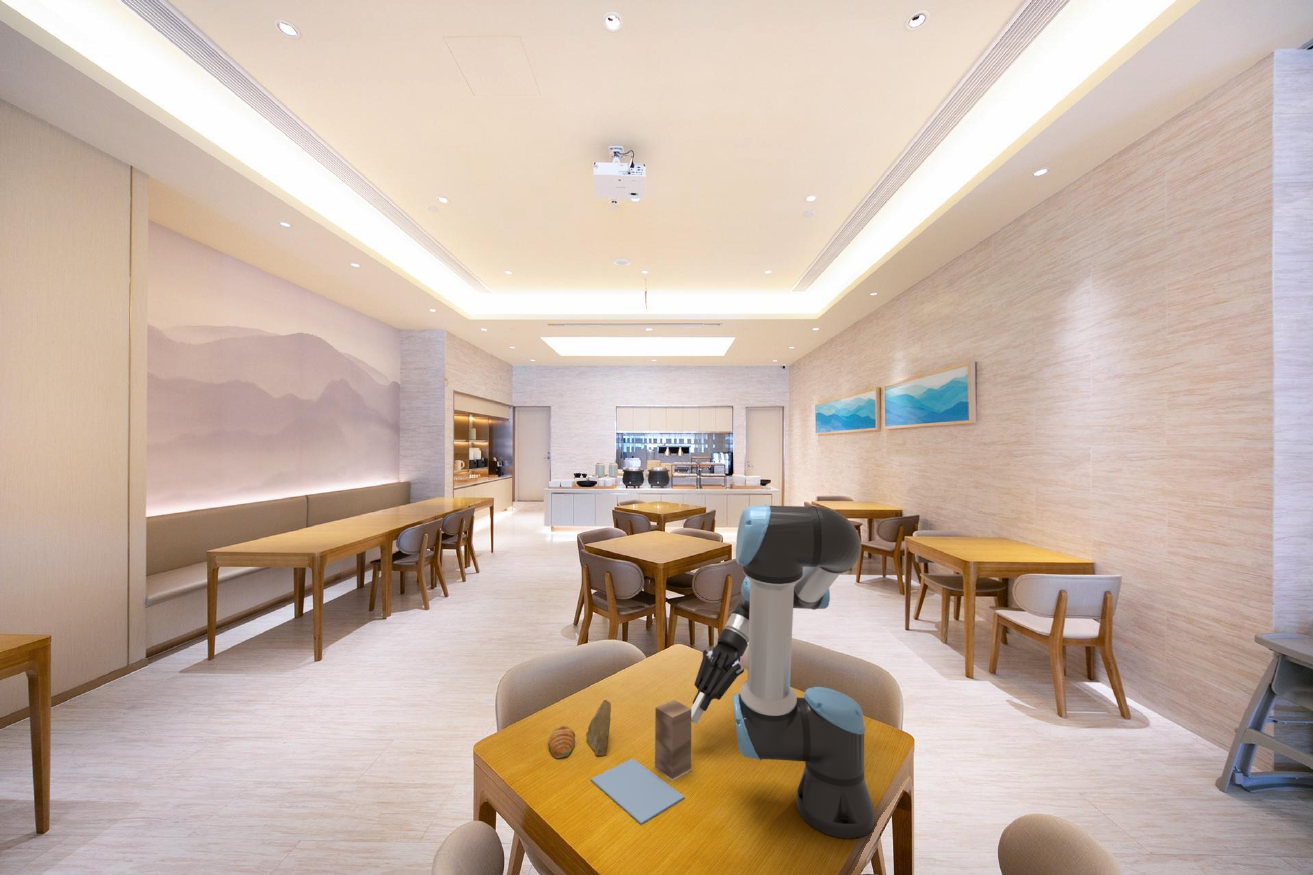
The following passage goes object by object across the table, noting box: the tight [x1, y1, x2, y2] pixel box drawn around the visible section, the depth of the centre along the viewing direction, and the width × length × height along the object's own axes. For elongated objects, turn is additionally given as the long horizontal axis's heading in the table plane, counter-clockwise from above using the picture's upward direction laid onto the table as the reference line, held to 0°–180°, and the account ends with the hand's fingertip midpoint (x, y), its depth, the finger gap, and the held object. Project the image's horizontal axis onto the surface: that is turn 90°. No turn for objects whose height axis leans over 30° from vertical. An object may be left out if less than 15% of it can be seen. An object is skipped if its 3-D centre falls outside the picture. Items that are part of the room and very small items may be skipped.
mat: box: [590, 758, 685, 826], centre depth 109 cm, size 18×12×1 cm, turn 41°
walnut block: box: [654, 699, 692, 782], centre depth 116 cm, size 6×6×14 cm
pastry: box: [547, 725, 576, 759], centre depth 124 cm, size 9×7×4 cm
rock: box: [585, 699, 612, 757], centre depth 126 cm, size 11×9×10 cm
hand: (691, 720), depth 121 cm, fingers closed
